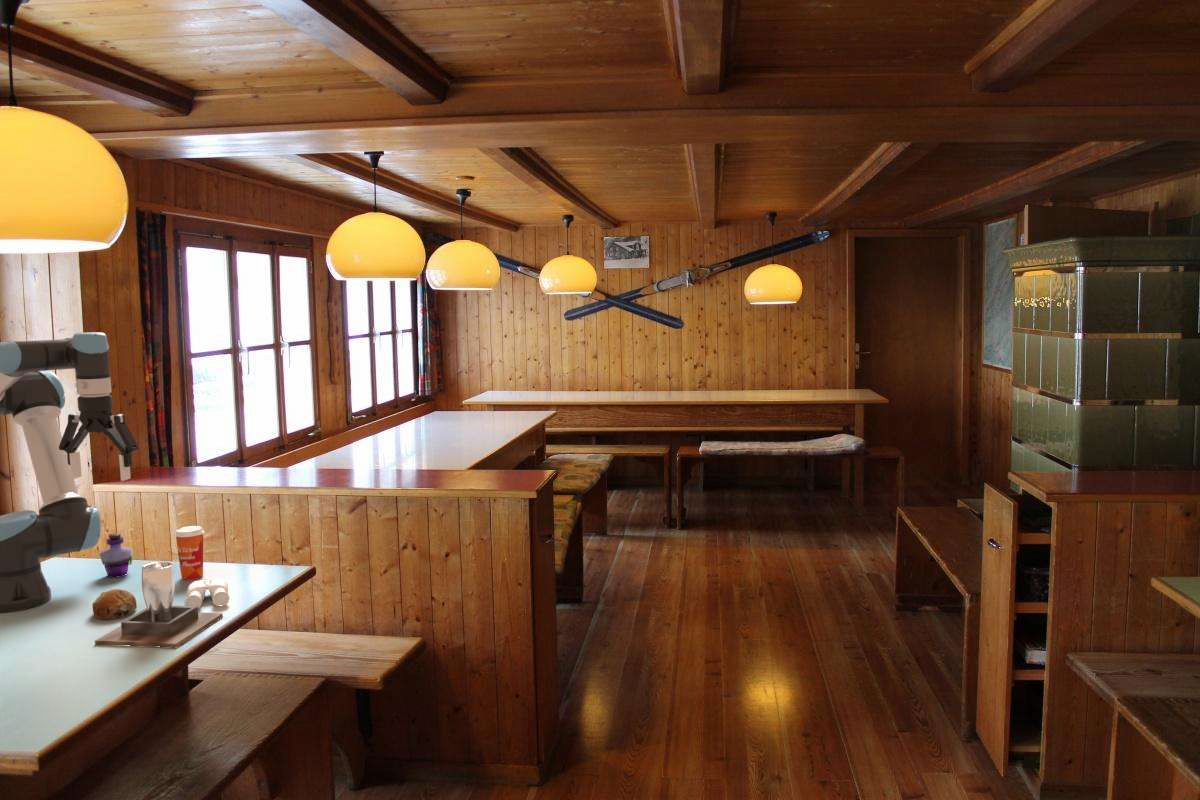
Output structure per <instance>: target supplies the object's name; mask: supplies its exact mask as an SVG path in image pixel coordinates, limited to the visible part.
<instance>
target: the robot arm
mask: <svg viewBox="0 0 1200 800" xmlns="http://www.w3.org/2000/svg"><path fill="white" fill-rule="evenodd" d="M109 349H110V346H109V343H108V337H107V335H106V333H104V332H100V331H99V332H97V331H89V332H88V331H86V332H76V333H74V334H73V336H72V337H66V338H62V339H44V340H22V341H21V340H19V341H16V340H15V341H12V340H11V341H10V340H8V341H2V342H0V416H7V415H11V416H12V419H13V421H14V422H13V423H15V424H16V425H18V426H21V427H22V431H23V434H24V438H25V442H26V445H27V449H28V453H29V456H30V460H31V464H32V468H33V470H34V475H35V478H36V482H37V485H38V489H39V493H40V497H41V500H42V502H43V503H42V505H41V506H40V507H39V509H38V513H36V511H34V510H20V511H13V512H8V513H6V514H5V513H4V514H1V515H0V613H5V612H8V611H9V612H16V611H20V610H26V609H31V608H34V607H38V606H40V605H43V604H45V603H47V602H48V601H50V600H51V599H52V590H51V587H50V586H49V585H48V582H47V580H46V577H45V575H44V574H43V571H42V563H41V560H42V559H47V558H48V559H49V558H51V557H56V556H63V555H67V554H72V553H76V552H77V553H80V552H81V551H85V550H88V549H92V548H94V547H95V546H96V545H97V544H98V542H99V540H100V537H101V531H102V519H101V513H100V510H99V509H98V507H97V506H96V505H93V504H90V505H89V503H88V500H87V498H86V497H85V496H82V495H80V494H79V492H78V489H77V485H76V479H79V478H82V476H83V475H82V464H81V452H80V451H79V450H78V448H80V446H81V444H83V442H84V440H85V439H86V437H87V436H88V435H89V433H96V434H97V433H103V434H104V435H106V436H107V437H108V439H109V440H110V441H111V442H112V443H113V445H114V446H115V447H116V449H118V450H119V452H120V454H119V455H118V459H119V461H118V462H119V475H120V481H121V482H123V481H127V480H131V467H132V466H133V459H132V458H133V457H132V454H133V453H134V452H137V451H139V450H140V448H139V445H138V443H137V442H136V439H135V438H134V435H133V434H132V432H131V429H130V428H129V427H128V425H127V423H126V418H125V415H124V414H123V413H119V414H116V415H113V413H112V410H113V407H114V406H113V399H112V398H113V396H112V395H111V394H110V393H112V384H111V383H112V382H111V381H112V380H111V370H110V356H109ZM71 369H73V370H74V372H75V373H74V374H75V382H76V383H75V384H76V385H75V386H76V394H77V395H79V396H78V397H77V409H78V411H79V413H78V412H75V413H69V414H68V415H67V424H66V427H65V429H64V433H63V435H62V432H61V428H60V425H59V421H58V418H59V416H60V415H61V413H62V411H61V410H62V409H63V408H64V407H65V404H66V397H65V390H64V386H63V383H62V382H61V380H60V378H59V377H58V375H56V374H55V372H52V371H58V370H59V371H60V370H71ZM80 423H81V425H80V427H79V424H80ZM78 427H79V428H78ZM77 429H78V430H77ZM76 431H77V432H76Z"/></svg>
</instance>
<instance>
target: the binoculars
mask: <svg viewBox="0 0 1200 800" xmlns="http://www.w3.org/2000/svg"><path fill="white" fill-rule="evenodd" d="M207 590H208V592H209V595H210V597H211V599H212V603H213V605H214V606H215V607H218V606H219V605H222V606H221V607H225V606H226V605H228V603H229V600H230V595H229V584H228V582H227V581H226V580H225V579H223V578H222V577H218V578H211V577H209V576H208V577H205V578H203V579H201V580H195V581H193V582H192V583H190V584H189V585H188V587H187V590H186V591H187V592H186V593H187V594H186V598H185V600H184V606H195V607H198V609H200V607H201V606H202V604H203V601H204V599H205V597H206V591H207Z"/></svg>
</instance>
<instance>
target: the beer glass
mask: <svg viewBox="0 0 1200 800" xmlns="http://www.w3.org/2000/svg"><path fill="white" fill-rule="evenodd" d="M141 589H142V595H143V600H144V602H145V606H146V608H147V610H148V622H169V621H171V620H172V619H174V617H173V612H172V606H174V605H173V604H174V595H175V576H174V569H173V563H172V562H170V561H154V562H151V563H148V564H144V565H143V566H142V567H141Z"/></svg>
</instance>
